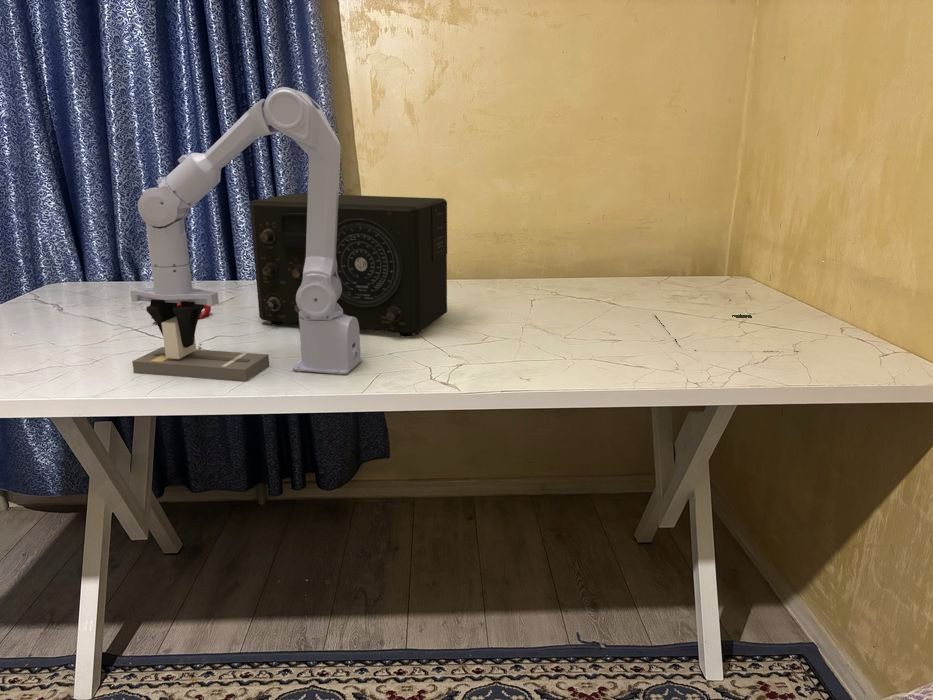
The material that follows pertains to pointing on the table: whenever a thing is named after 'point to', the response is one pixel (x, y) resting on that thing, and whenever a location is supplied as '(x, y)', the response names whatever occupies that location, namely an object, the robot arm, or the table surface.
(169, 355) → the fader tab
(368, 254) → the vintage radio
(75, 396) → the table surface
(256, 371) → the fader console
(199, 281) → the table surface
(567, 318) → the table surface
